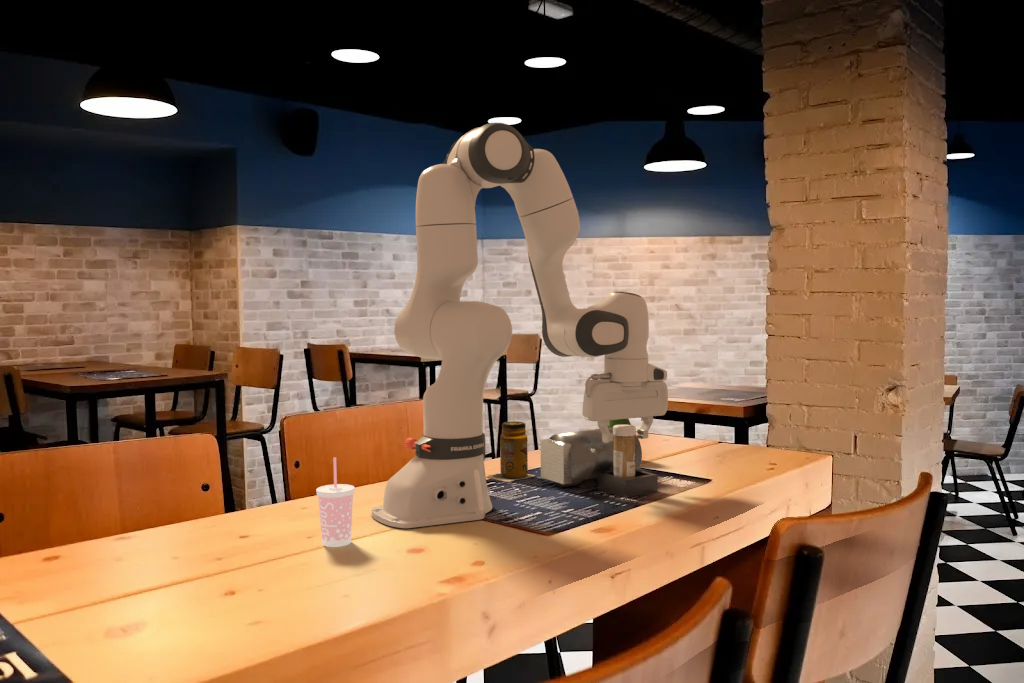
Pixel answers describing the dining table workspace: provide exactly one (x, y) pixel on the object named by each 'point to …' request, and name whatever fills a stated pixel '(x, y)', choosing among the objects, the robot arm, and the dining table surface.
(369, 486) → the dining table surface
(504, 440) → the condiment
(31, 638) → the dining table surface
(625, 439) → the sprinkles bottle
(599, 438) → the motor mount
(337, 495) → the beverage cup
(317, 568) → the dining table surface
